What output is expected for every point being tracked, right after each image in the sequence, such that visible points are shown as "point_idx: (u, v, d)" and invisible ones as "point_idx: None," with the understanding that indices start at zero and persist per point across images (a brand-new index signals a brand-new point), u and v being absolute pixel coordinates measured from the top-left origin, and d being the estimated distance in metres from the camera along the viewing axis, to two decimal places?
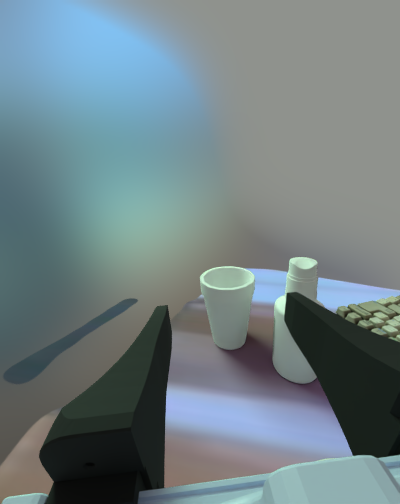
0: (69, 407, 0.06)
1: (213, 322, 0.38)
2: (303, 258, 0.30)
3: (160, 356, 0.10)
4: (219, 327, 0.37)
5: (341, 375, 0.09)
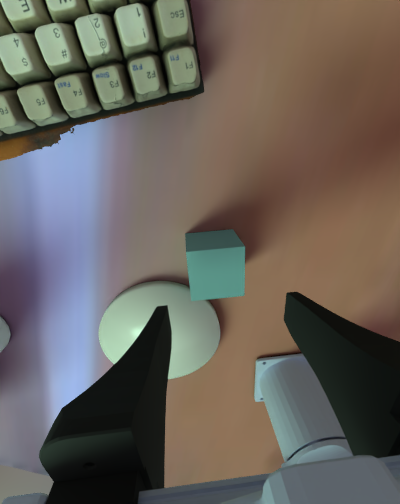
0: (69, 407, 0.06)
1: None
2: None
3: (160, 356, 0.10)
4: None
5: (341, 375, 0.09)
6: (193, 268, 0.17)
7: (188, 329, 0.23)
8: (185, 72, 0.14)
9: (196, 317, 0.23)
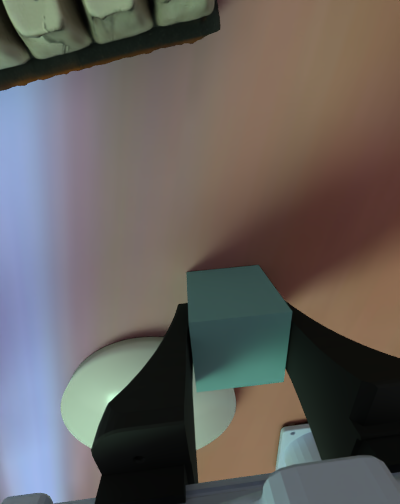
0: (116, 402, 0.06)
1: None
2: None
3: (188, 353, 0.10)
4: None
5: (310, 379, 0.09)
6: (200, 347, 0.10)
7: None
8: None
9: None
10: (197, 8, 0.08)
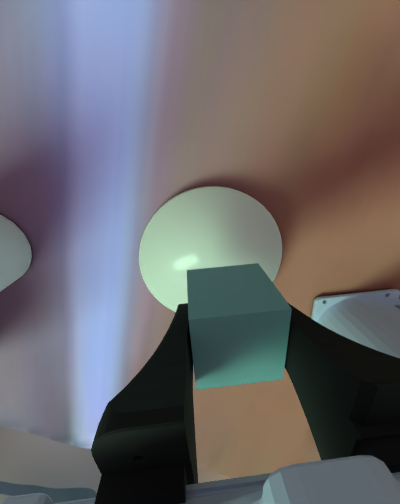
0: (116, 402, 0.06)
1: None
2: None
3: (188, 353, 0.10)
4: None
5: (310, 379, 0.09)
6: (200, 344, 0.10)
7: (245, 249, 0.19)
8: None
9: (256, 232, 0.19)
10: None
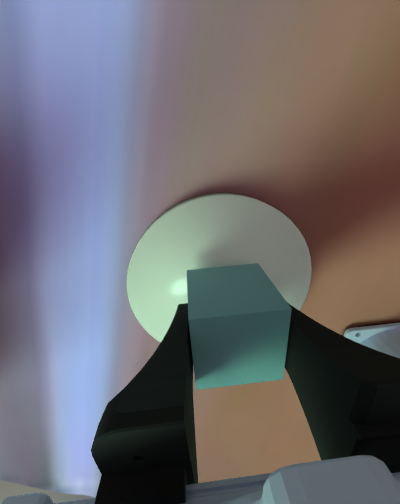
0: (116, 401, 0.06)
1: None
2: None
3: (188, 353, 0.10)
4: None
5: (310, 379, 0.09)
6: (200, 344, 0.10)
7: None
8: None
9: (279, 253, 0.14)
10: None
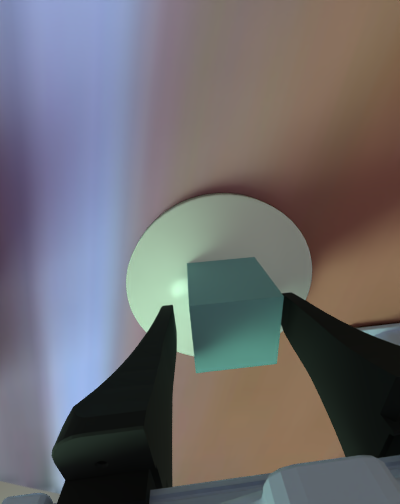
0: (80, 406, 0.06)
1: None
2: None
3: (167, 355, 0.10)
4: None
5: (334, 376, 0.09)
6: (199, 329, 0.11)
7: None
8: None
9: (280, 254, 0.14)
10: None
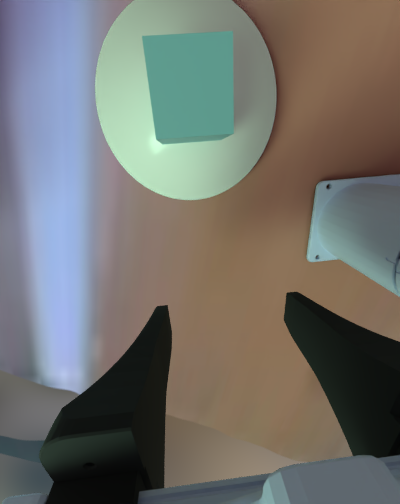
0: (69, 407, 0.06)
1: None
2: None
3: (160, 356, 0.10)
4: None
5: (341, 375, 0.09)
6: (155, 72, 0.11)
7: None
8: None
9: (243, 64, 0.15)
10: None
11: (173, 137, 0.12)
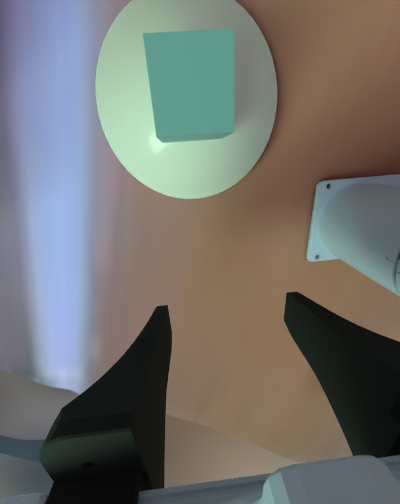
0: (69, 407, 0.06)
1: None
2: None
3: (160, 356, 0.10)
4: None
5: (341, 375, 0.09)
6: (155, 70, 0.11)
7: None
8: None
9: (244, 63, 0.15)
10: None
11: (173, 135, 0.12)
